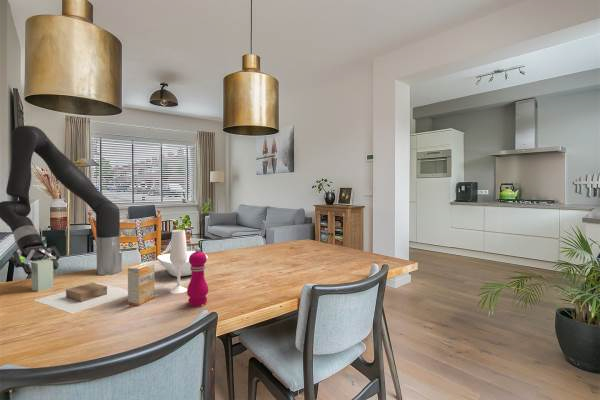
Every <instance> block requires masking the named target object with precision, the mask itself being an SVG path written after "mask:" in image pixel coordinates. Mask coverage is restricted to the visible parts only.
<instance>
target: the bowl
mask: <svg viewBox="0 0 600 400" xmlns="http://www.w3.org/2000/svg"><path fill="white" fill-rule="evenodd" d="M194 252H196V251H195V250H189V251H188V250H187V256H188V258H187V260H186V262H185V263H184V264H183V265H182V266H180V277H185V276H192V271H191V270H190V269H191V267H190V266H191V264H190V263H189V257H190V255H191V254H192V253H194ZM204 254H205V255H206V257H207V260H208V259H209V257H208V255H207V254H206V253H204ZM169 258H170V252H169V253H164V254H159V255H157V261H158V262H159V264H160V265H161V267H163V268H166V270H167V272H168V273H169V275H171V276H172V277H176V278H177V266H175V265H174V264H172V263H171V261H170V259H169Z"/></svg>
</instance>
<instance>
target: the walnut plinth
mask: <svg viewBox="0 0 600 400" xmlns="http://www.w3.org/2000/svg"><path fill="white" fill-rule="evenodd" d="M96 283H97V282H96ZM96 283H95V282H90V283H89V282H88V283H86V284H82V285H78V286H74V287H70V288H66V289H65V291H66V298H68V299H71V300H74V301H78V302H84V301H87V300H90V299H94V298H97V297H100V296H103V295H107V286H103V285H100V284H96Z"/></svg>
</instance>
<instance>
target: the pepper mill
mask: <svg viewBox="0 0 600 400" xmlns="http://www.w3.org/2000/svg"><path fill="white" fill-rule="evenodd" d="M194 251H196V252H194V253H192V254H191V255H190V257H189V263H190V264H191V266H190V267H191V269H190V270H191V271H192V274H191V278H190V281H189V283H188V286H187V288H186V289H187V291H186V295H187V296H188V306H190V305H191V306H190V307H200V306H199V305H202V304H204V305H206V304H207V303H206V302H208V297H207V295H208V293H209V286H208V284H207V281H206V279H205V273H204V272H205V269H206V265H205V264H206V263H207V261H208V259H207V257H206V255H207V254H206V253H205V252H203V251H201V248H200V247H196V248H195V249H194ZM205 254H206V255H205ZM205 303H206V304H205ZM202 306H203V305H202Z"/></svg>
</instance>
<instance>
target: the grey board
mask: <svg viewBox="0 0 600 400" xmlns="http://www.w3.org/2000/svg"><path fill="white" fill-rule="evenodd" d="M96 284H100V285H103V286H107V295H103V296H100V297H97V298H94V299H90V300H87V301H84V302H78V301H74V300H71V299H68V298H66V290H65V291H62V292H59V293H54V294H51V295H47V296H43V297H40V298H35V299H33V302H37V303H40V304H43V305H45V306H49V307H52V308H55V309H57V310H60V311H62V312H66V313H69V314H72V315H73V314H76V313H80V312H82V311H86V310H88V309H91V308H95V307H98V306H100V305H103V304H107V303H109V302H112V301H115V300H119V299H122V298H124V297H128V289H124V288H121V287H116V286H113V285H110V284H106V283H105V284H104V283H101V282H96Z"/></svg>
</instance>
